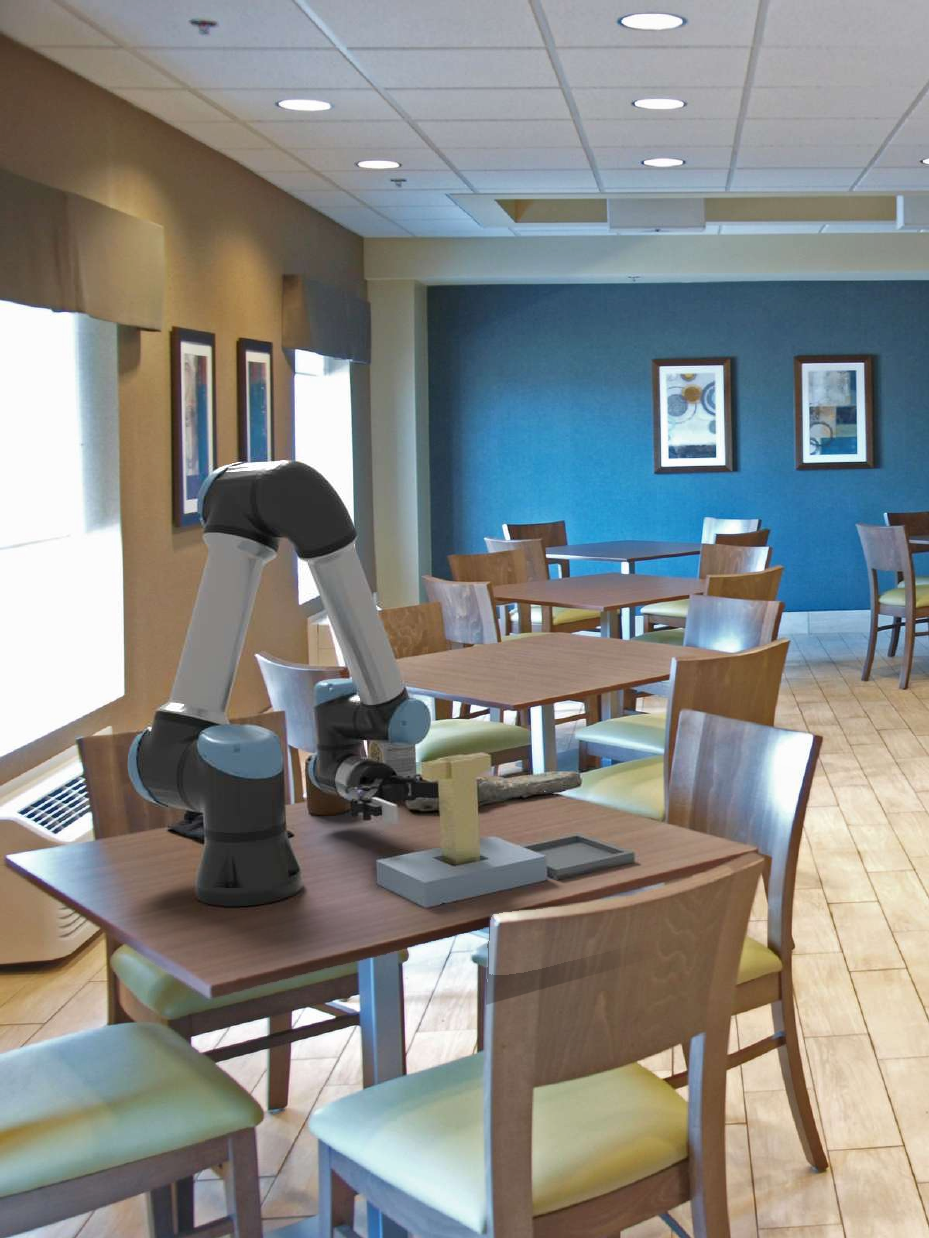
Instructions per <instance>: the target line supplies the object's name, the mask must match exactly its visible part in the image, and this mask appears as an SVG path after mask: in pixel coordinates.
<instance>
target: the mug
mask: <svg viewBox="0 0 929 1238" xmlns="http://www.w3.org/2000/svg"><path fill="white" fill-rule="evenodd" d="M312 756H313V754H310V755H308V757H307V758H306V759H305V761H304V777H305V778H304V779H305V794H306V808H307V812H309V813H310V814H311V815H315V816H316V815H317V816H335V815H339V814H343V813H346V812H348V810H350V805H349V804H347V803H346V802H345V799H344V798H341V797H339V796H336V795H332V794H328V793H326V792H324V791H323V790H321V789H320V788H318V787H317V786H315V785H314V784H313V783H312V781H311V779H310V777H309V773H308V765H309V763H310V760H311V758H312Z"/></svg>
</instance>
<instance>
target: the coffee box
mask: <svg viewBox="0 0 929 1238" xmlns="http://www.w3.org/2000/svg"><path fill="white" fill-rule="evenodd" d="M366 750H367V752H366V753H367V758H370V759H373V760H375V761H378V762H381V763H384V764H387V765H389V766H390V767H392V768H393V769H394V771H395V772H396V773H397V775H398V776H401V777H413V778H414V775H416V774H417V753H416V752H417V751H416V750H417V749H416V745H397V746H396V745H392V744H388V743H381V742H374V741H366ZM409 794H411V788H410V791H409V793H408V795H409ZM401 801H402V802H403V800H401ZM401 801H400V802H401Z"/></svg>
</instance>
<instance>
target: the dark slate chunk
mask: <svg viewBox="0 0 929 1238" xmlns="http://www.w3.org/2000/svg"><path fill="white" fill-rule="evenodd" d="M167 828H170V830H174V831H173V832H176V833H178V832H179V834H180V835H181V836H185V835H187V836H186V837H188V836H190V837H189V838H190V839H199V840H201V841H204V842H205V834H204V820H203V813H199V812H194V811H189V810H185V813H184V814H183V820H181V821H176V822H173V823H172V824H169V825H167ZM170 830H169V831H170ZM287 836H288V838H290V837H293V836H295V835H294V833H293V832H291V830H288V829H287Z"/></svg>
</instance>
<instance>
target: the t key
mask: <svg viewBox="0 0 929 1238" xmlns="http://www.w3.org/2000/svg"><path fill="white" fill-rule="evenodd" d="M489 772H492V757H491V754H490V753H486V752H483V751H482V752H481V751H480V752H477V753H476V752H475V753H470V754H457V755H456V754H455V755H450V756H449V755H448V756H443V757H439V758H438V757H437V758H436V759H434V760H428V761H427V760H426V761H423V762H421V775H422V779H423V780H426V781H429V782H434V781H438V789H439V810H438V811H439V824H440V825H439V827H440V828H439V829H440V830H439V831H440V847H441V852H442V862H444V863H446V864H449V865H451V866H453V867H454V866H459V865H464V864H468V863H473V862H477V861H480V844H479V839H480V826H479V825H480V824H479V807H478V799H477V777H476V776H477V775H478V774H483V773H489Z"/></svg>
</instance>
